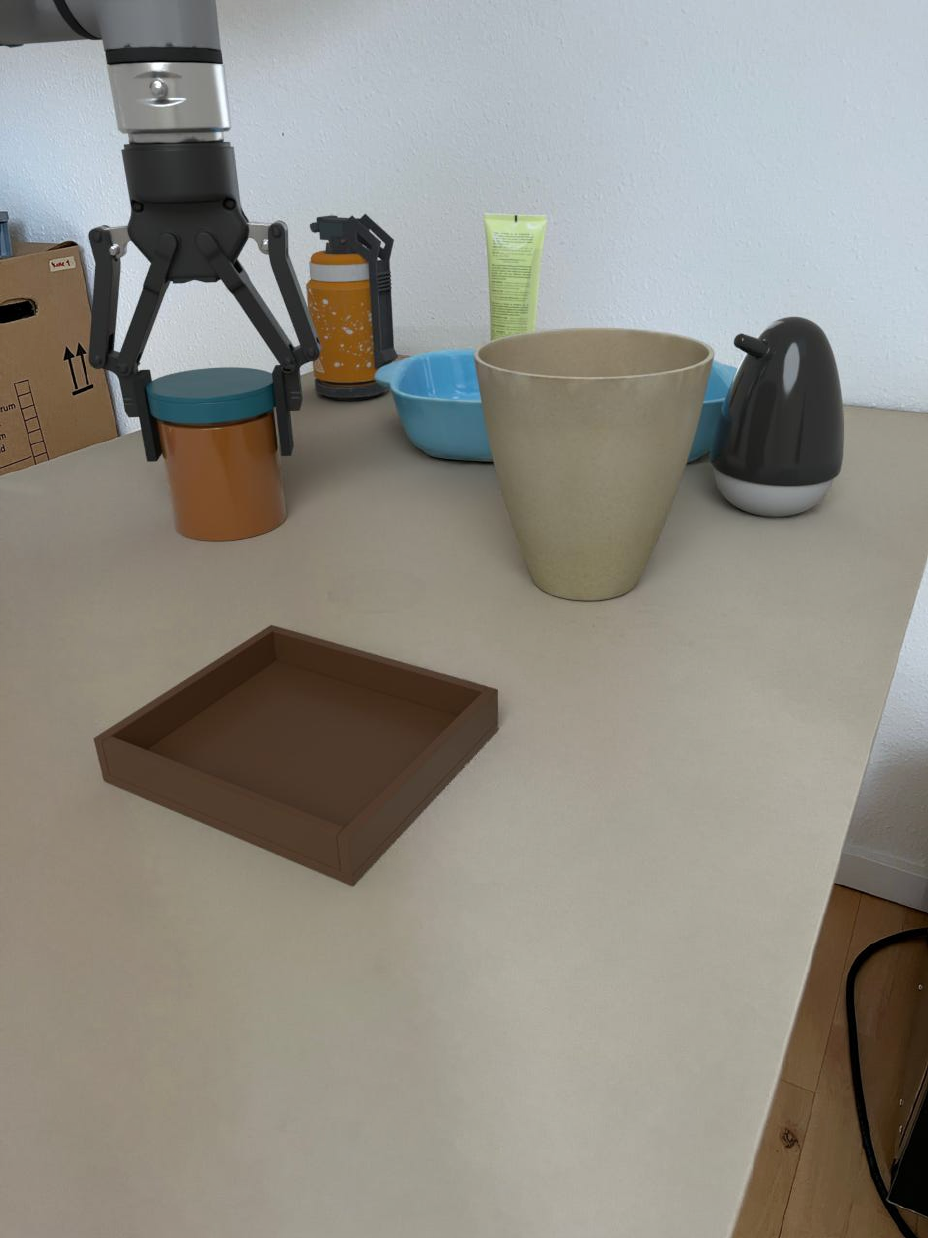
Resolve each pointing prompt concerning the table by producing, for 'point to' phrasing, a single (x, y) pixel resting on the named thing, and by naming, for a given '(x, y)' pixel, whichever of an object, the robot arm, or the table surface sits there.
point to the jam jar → (224, 477)
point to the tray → (303, 747)
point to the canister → (351, 306)
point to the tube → (513, 271)
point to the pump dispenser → (780, 421)
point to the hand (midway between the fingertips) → (221, 453)
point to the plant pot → (590, 446)
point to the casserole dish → (452, 410)
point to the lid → (211, 395)
